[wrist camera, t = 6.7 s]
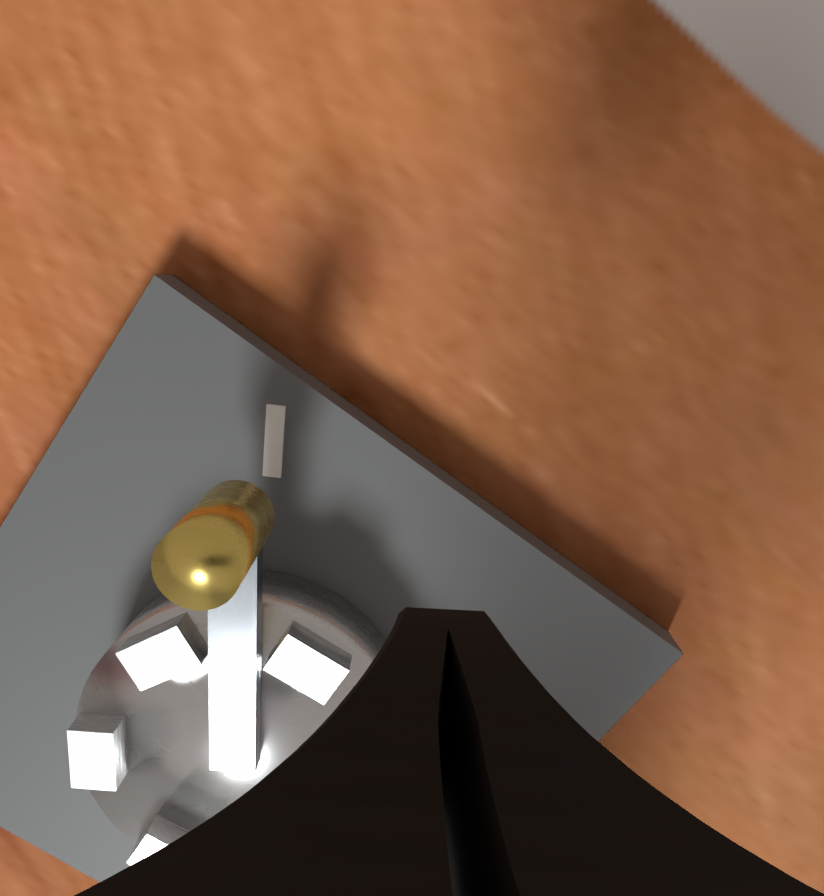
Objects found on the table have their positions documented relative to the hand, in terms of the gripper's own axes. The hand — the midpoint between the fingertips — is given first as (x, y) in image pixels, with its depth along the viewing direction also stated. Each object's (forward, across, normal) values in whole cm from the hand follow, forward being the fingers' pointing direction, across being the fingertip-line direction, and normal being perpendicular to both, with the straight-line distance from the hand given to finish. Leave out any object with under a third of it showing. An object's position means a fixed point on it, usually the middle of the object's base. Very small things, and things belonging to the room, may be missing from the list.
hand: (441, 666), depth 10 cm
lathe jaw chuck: (+8, +5, +5) cm, 11 cm away
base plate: (+9, +5, +7) cm, 13 cm away
